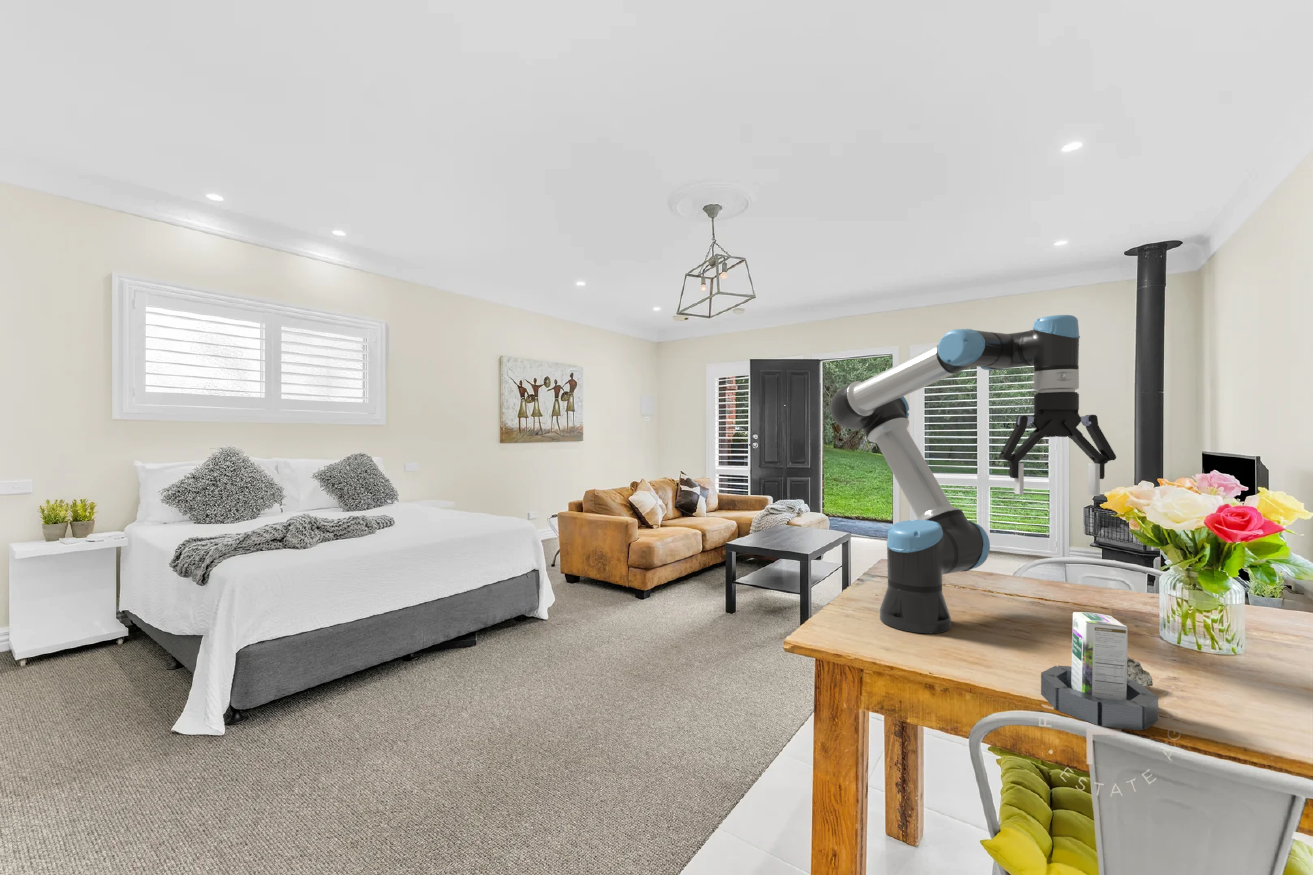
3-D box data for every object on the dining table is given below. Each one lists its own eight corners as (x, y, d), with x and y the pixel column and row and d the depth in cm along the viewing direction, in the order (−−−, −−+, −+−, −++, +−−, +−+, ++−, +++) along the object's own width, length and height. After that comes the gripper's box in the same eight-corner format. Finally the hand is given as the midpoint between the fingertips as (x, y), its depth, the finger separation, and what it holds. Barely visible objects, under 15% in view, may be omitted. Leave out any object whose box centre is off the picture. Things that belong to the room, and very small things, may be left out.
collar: (1069, 723, 85) (1069, 700, 85) (1029, 682, 99) (1029, 663, 99) (1177, 733, 82) (1177, 710, 82) (1121, 690, 95) (1121, 670, 95)
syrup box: (1069, 695, 94) (1069, 610, 94) (1111, 700, 92) (1111, 613, 92) (1084, 711, 88) (1084, 621, 88) (1129, 717, 87) (1129, 625, 86)
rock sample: (1088, 671, 94) (1102, 630, 98) (1068, 684, 100) (1082, 645, 104) (1161, 711, 89) (1173, 666, 93) (1135, 722, 95) (1147, 679, 99)
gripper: (995, 392, 113) (995, 495, 113) (1138, 389, 107) (1137, 498, 107) (982, 394, 120) (982, 491, 120) (1115, 391, 115) (1115, 493, 115)
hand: (1055, 494), depth 114 cm, fingers open, 13 cm apart
